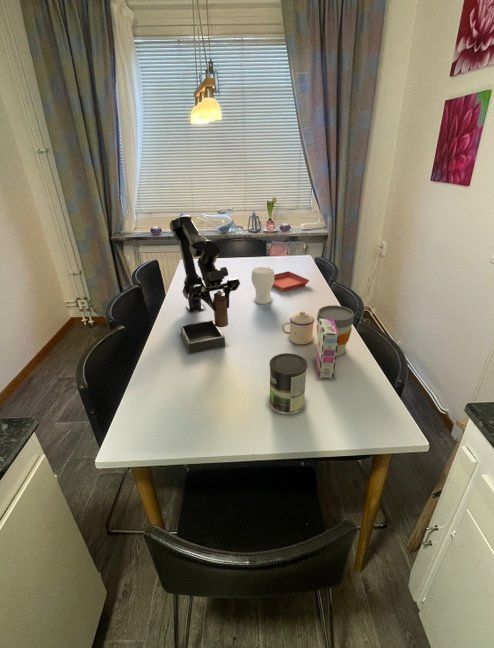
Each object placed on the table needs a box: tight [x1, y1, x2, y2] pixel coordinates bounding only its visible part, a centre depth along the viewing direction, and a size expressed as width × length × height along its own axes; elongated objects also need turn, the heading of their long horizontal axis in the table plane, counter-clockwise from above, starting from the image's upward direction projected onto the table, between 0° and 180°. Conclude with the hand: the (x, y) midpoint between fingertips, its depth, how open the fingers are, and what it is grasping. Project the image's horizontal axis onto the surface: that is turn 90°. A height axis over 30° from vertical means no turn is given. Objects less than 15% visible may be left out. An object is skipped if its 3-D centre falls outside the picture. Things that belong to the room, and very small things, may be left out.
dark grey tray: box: [179, 319, 226, 354], centre depth 134 cm, size 16×14×4 cm
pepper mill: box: [212, 290, 229, 328], centre depth 128 cm, size 5×5×14 cm
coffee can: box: [268, 352, 308, 415], centre depth 99 cm, size 10×10×14 cm
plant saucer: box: [272, 271, 310, 292], centre depth 184 cm, size 18×18×3 cm
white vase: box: [250, 266, 275, 305], centre depth 163 cm, size 11×11×15 cm
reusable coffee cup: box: [316, 304, 355, 357], centre depth 123 cm, size 13×13×15 cm
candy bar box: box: [315, 319, 339, 380], centre depth 112 cm, size 11×5×16 cm, turn 178°
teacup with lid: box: [281, 310, 315, 345], centre depth 131 cm, size 12×9×12 cm
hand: (221, 309), depth 127 cm, fingers closed on pepper mill, 5 cm apart
